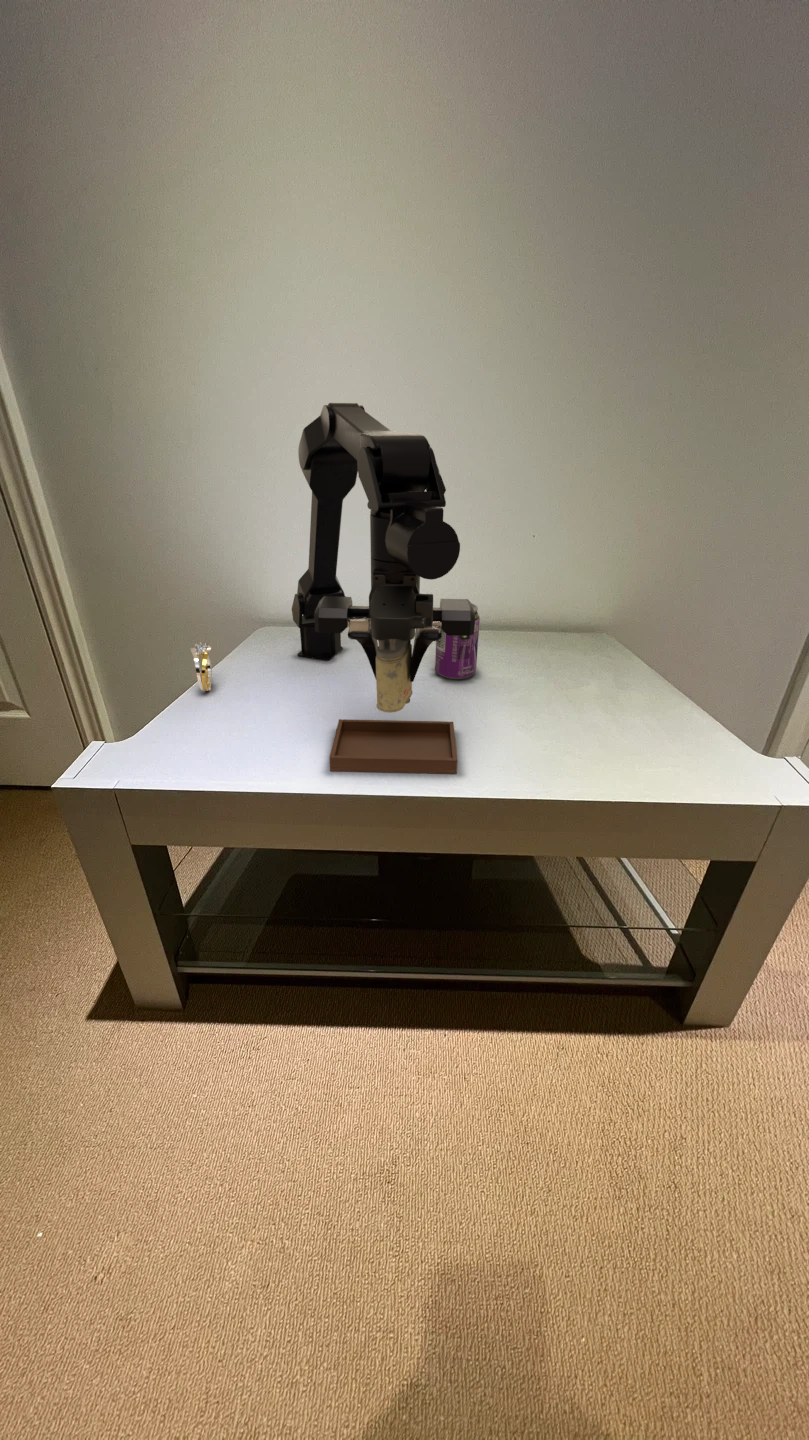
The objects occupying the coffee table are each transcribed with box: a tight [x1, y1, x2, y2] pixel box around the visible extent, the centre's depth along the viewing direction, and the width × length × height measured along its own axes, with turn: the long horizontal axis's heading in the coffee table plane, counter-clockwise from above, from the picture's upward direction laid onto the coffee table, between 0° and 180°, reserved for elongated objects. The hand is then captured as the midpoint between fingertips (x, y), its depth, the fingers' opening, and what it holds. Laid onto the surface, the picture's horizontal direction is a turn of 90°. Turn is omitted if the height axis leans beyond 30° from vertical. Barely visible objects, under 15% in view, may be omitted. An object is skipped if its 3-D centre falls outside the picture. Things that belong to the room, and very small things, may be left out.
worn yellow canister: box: [375, 639, 413, 714], centre depth 74 cm, size 7×4×10 cm, turn 163°
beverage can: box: [434, 603, 481, 680], centre depth 100 cm, size 7×7×12 cm
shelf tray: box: [329, 718, 458, 775], centre depth 80 cm, size 16×10×2 cm, turn 89°
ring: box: [190, 641, 213, 692], centre depth 94 cm, size 7×3×8 cm, turn 5°
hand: (394, 680), depth 75 cm, fingers closed on worn yellow canister, 4 cm apart
